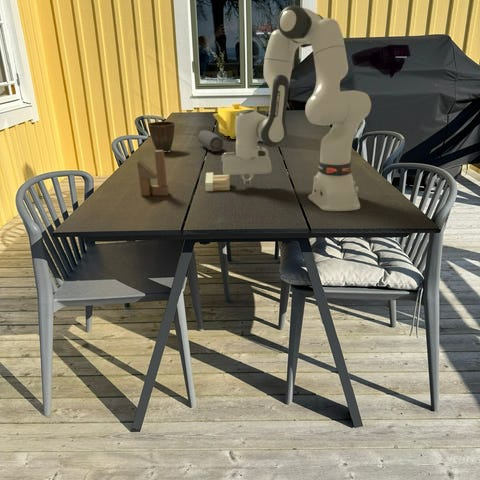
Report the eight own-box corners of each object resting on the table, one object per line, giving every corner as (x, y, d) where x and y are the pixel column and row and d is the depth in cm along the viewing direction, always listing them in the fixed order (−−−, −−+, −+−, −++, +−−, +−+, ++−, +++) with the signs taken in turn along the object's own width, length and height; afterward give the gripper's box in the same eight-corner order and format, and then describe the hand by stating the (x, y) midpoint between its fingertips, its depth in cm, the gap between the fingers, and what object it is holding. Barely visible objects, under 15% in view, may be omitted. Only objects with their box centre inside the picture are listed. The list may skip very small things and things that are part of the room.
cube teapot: (205, 135, 291) (203, 103, 282) (245, 131, 302) (244, 99, 293) (225, 144, 262) (224, 108, 253) (268, 139, 273) (269, 104, 264)
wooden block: (143, 193, 177) (138, 149, 170) (169, 193, 176) (165, 149, 169) (141, 196, 174) (135, 151, 166) (167, 195, 173) (163, 151, 166)
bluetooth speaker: (224, 152, 242) (224, 134, 238) (209, 154, 239) (208, 136, 235) (212, 145, 262) (211, 128, 258) (197, 146, 259) (196, 129, 255)
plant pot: (179, 149, 254) (177, 121, 247) (173, 154, 240) (171, 125, 234) (155, 149, 255) (152, 121, 249) (147, 154, 242) (144, 125, 235)
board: (212, 190, 178) (212, 182, 176) (205, 191, 177) (205, 183, 176) (213, 180, 192) (213, 172, 191) (206, 180, 192) (206, 172, 191)
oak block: (229, 190, 179) (229, 179, 177) (213, 190, 178) (212, 180, 177) (229, 184, 186) (229, 174, 184) (213, 185, 186) (212, 175, 184)
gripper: (221, 153, 172) (222, 187, 178) (272, 152, 173) (271, 185, 178) (221, 150, 178) (222, 182, 183) (270, 148, 178) (270, 181, 184)
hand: (247, 184), depth 181 cm, fingers closed
